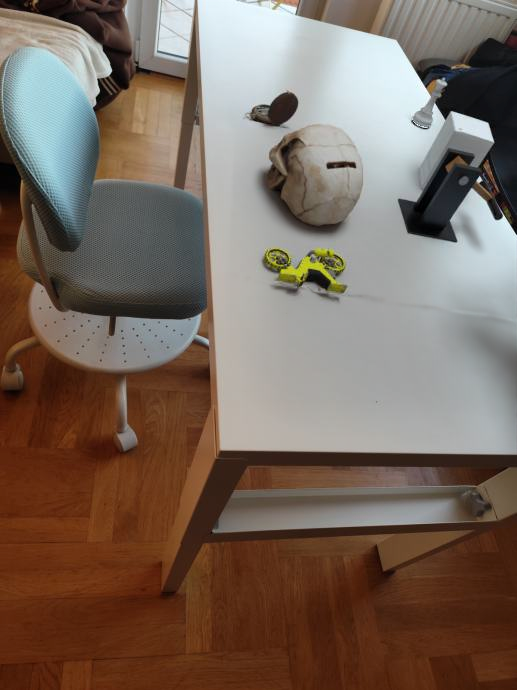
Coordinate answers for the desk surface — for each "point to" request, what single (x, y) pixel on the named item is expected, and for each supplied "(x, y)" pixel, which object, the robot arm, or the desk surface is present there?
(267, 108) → the compass
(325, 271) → the toy motorcycle
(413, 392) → the desk surface
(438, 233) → the bracket
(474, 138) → the white packaging box
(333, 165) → the coin bank
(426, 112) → the chess piece
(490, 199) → the lever
